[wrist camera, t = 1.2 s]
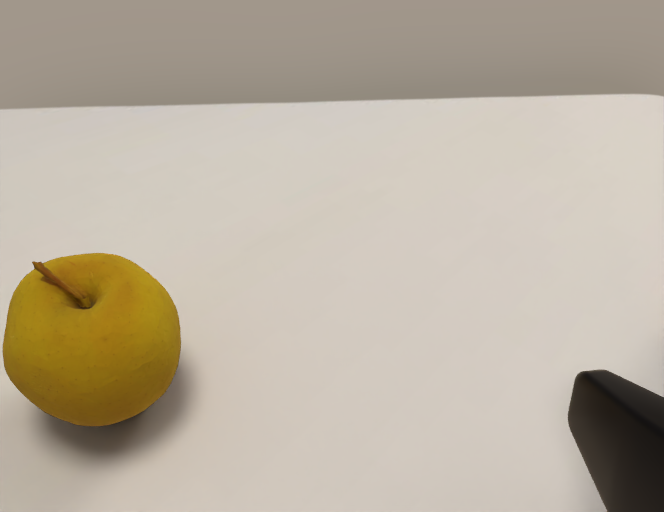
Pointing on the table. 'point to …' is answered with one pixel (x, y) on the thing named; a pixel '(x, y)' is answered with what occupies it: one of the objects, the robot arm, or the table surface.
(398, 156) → the table surface
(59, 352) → the apple
